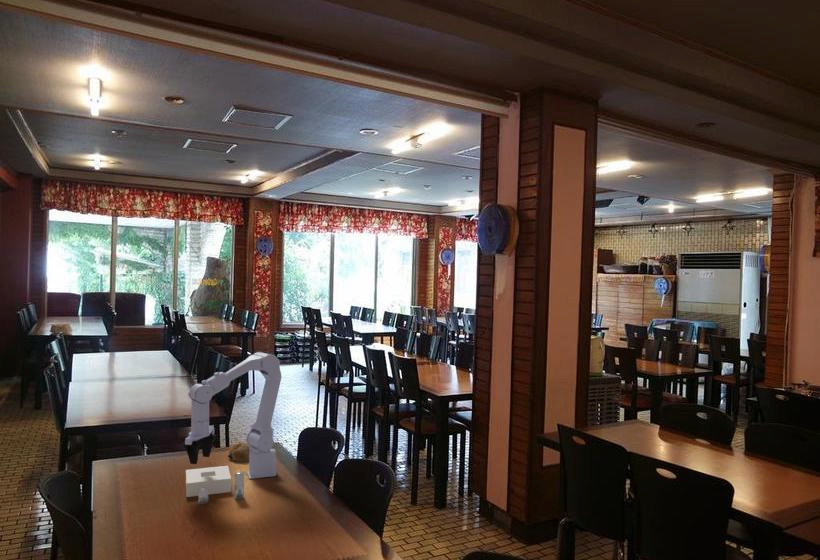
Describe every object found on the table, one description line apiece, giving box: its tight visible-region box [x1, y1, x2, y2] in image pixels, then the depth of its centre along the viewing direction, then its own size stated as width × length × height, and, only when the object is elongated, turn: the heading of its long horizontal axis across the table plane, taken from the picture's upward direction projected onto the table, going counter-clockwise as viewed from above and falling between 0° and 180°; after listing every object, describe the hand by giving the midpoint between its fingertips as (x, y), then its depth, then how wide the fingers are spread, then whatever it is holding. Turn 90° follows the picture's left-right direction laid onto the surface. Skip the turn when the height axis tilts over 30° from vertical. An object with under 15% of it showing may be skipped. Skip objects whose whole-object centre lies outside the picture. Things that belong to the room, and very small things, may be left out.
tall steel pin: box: [233, 471, 245, 500], centre depth 191 cm, size 3×3×8 cm
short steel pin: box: [197, 488, 209, 505], centre depth 187 cm, size 3×3×4 cm
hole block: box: [185, 465, 232, 498], centre depth 199 cm, size 14×14×4 cm
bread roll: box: [227, 441, 250, 462], centre depth 231 cm, size 10×10×8 cm
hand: (200, 460), depth 198 cm, fingers open, 7 cm apart
